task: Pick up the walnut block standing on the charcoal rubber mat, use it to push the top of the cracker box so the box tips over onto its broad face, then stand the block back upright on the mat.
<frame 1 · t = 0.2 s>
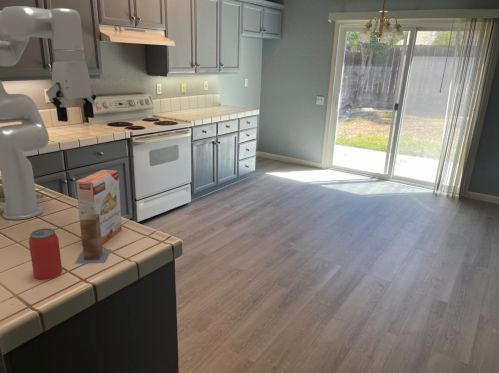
hand: (76, 119, 111), 37 cm above the countertop, tool pointing down, fingers open, 9 cm apart
cracker box: (103, 239, 120), on the countertop
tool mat: (93, 258, 109), on the countertop
beer can: (48, 275, 99), on the countertop
walnut block: (93, 256, 108), point 1 cm above the countertop, touching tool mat
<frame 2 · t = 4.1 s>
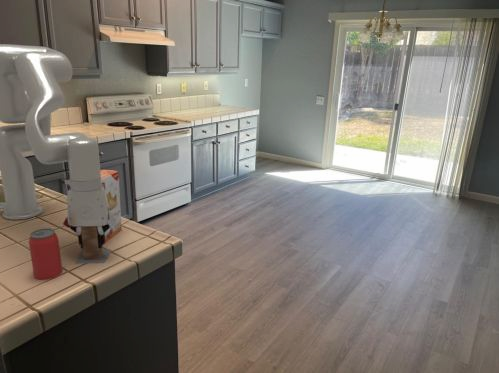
hand: (92, 245, 107), 4 cm above the countertop, tool pointing down, fingers closed on walnut block, 4 cm apart
walnut block: (93, 256, 108), point 1 cm above the countertop, touching gripper, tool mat
everything else where it was.
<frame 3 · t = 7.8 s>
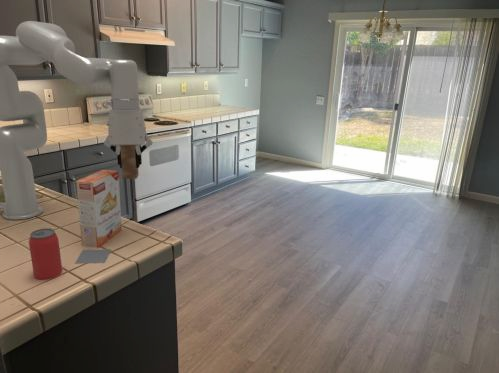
hand: (130, 166, 115), 24 cm above the countertop, tool pointing down, fingers closed on walnut block, 4 cm apart
walnut block: (130, 176, 116), point 20 cm above the countertop, touching gripper
everything else where it was.
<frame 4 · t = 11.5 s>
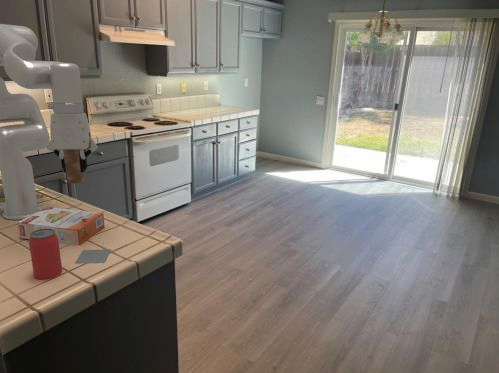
hand: (75, 170, 113), 22 cm above the countertop, tool pointing down, fingers closed on walnut block, 4 cm apart
cracker box: (93, 228, 120), point 3 cm above the countertop
walnut block: (76, 180, 115), point 19 cm above the countertop, touching gripper
everything else where it was.
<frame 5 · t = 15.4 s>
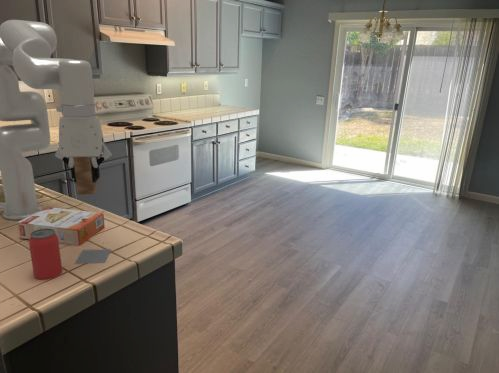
hand: (86, 180, 101), 23 cm above the countertop, tool pointing down, fingers closed on walnut block, 4 cm apart
walnut block: (87, 191, 103), point 20 cm above the countertop, touching gripper
everything else where it was.
when the fingers open (5 cm above the countertop, at t = 18.7 s): walnut block drops 1 cm, resting on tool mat.
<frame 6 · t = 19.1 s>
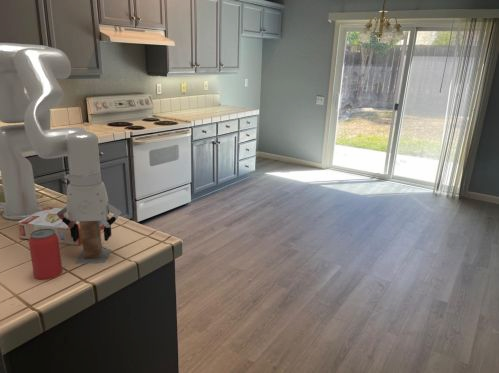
hand: (91, 238, 107), 6 cm above the countertop, tool pointing down, fingers open, 7 cm apart
walnut block: (93, 255, 109), point 1 cm above the countertop, touching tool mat
everything else where it was.
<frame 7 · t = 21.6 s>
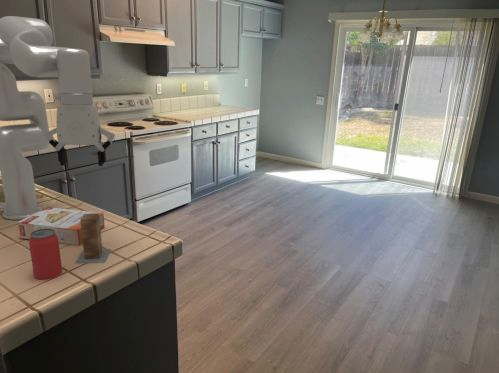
hand: (82, 164, 103), 27 cm above the countertop, tool pointing down, fingers open, 9 cm apart
nothing on the countertop moved.
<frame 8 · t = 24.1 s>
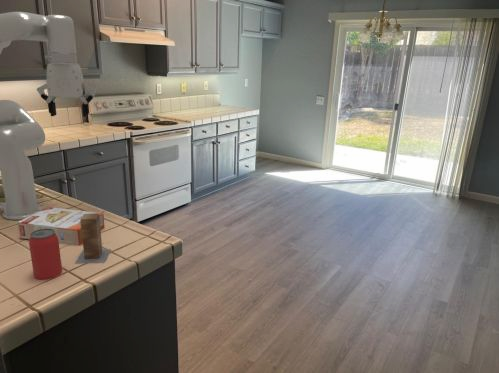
hand: (69, 116, 121), 36 cm above the countertop, tool pointing down, fingers open, 9 cm apart
nothing on the countertop moved.
at the end: cracker box tilted 91°; walnut block 0.4 cm from the target spot, point 0.6 cm above the countertop; walnut block tilted 0° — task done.
